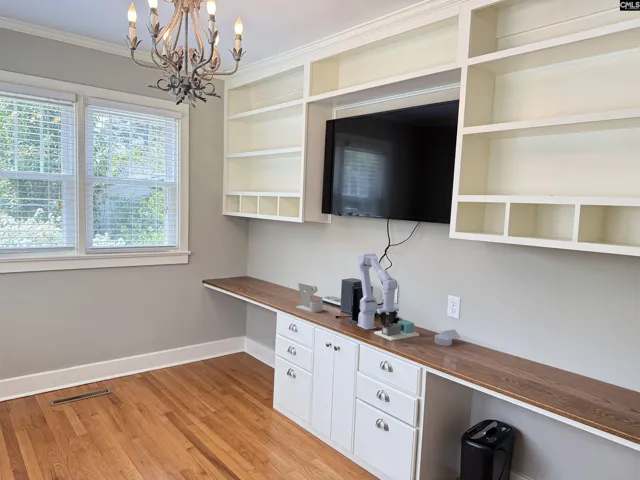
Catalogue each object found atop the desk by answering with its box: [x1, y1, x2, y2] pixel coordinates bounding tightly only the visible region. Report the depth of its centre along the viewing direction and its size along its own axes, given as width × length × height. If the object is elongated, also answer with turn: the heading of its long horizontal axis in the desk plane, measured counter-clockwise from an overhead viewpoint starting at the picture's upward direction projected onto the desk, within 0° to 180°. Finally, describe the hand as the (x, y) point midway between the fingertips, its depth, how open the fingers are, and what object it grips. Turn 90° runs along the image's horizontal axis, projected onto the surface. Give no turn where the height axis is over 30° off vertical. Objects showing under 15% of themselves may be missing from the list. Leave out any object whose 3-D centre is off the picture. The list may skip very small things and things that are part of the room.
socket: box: [397, 319, 415, 334], centre depth 257 cm, size 7×6×6 cm
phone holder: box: [295, 281, 324, 313], centre depth 299 cm, size 17×10×18 cm, turn 46°
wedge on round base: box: [434, 328, 461, 347], centre depth 244 cm, size 9×7×13 cm
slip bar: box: [383, 320, 389, 334], centre depth 250 cm, size 3×10×7 cm, turn 124°
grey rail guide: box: [381, 323, 401, 336], centre depth 250 cm, size 5×10×5 cm, turn 124°
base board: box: [373, 330, 420, 341], centre depth 253 cm, size 14×22×1 cm, turn 124°
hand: (387, 324), depth 248 cm, fingers open, 5 cm apart
